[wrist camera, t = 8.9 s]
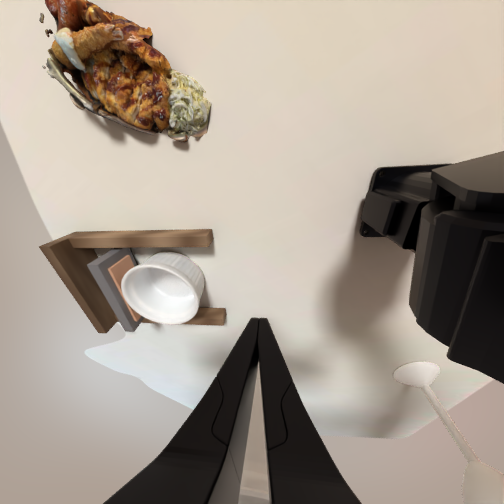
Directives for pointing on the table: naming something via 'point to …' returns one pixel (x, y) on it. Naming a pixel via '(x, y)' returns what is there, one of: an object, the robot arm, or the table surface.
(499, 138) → the table surface
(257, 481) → the jar
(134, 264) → the block
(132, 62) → the grilled meat platter
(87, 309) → the wooden u-shaped frame
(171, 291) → the ramekin
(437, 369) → the champagne flute
